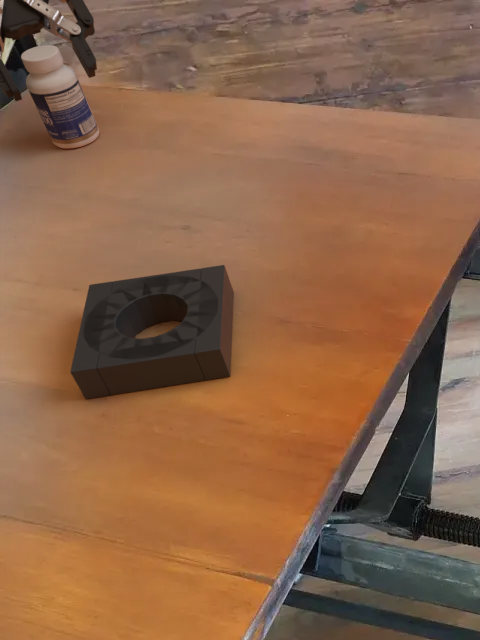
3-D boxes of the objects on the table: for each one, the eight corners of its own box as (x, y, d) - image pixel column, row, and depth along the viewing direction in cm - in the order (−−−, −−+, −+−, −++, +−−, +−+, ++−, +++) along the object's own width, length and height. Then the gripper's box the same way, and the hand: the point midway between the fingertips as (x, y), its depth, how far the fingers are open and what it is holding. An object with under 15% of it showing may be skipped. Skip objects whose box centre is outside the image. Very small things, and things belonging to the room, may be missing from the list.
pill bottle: (50, 135, 104) (10, 49, 97) (95, 122, 106) (60, 37, 98) (57, 154, 101) (17, 68, 94) (104, 141, 103) (68, 55, 95)
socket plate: (85, 399, 74) (70, 372, 71) (102, 311, 81) (89, 284, 79) (230, 376, 74) (220, 349, 72) (233, 291, 82) (224, 264, 80)
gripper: (-103, -63, 89) (-15, 90, 92) (37, -98, 94) (117, 48, 97) (-85, -20, 96) (-4, 121, 99) (44, -55, 101) (118, 81, 104)
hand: (55, 85), depth 98 cm, fingers open, 8 cm apart
